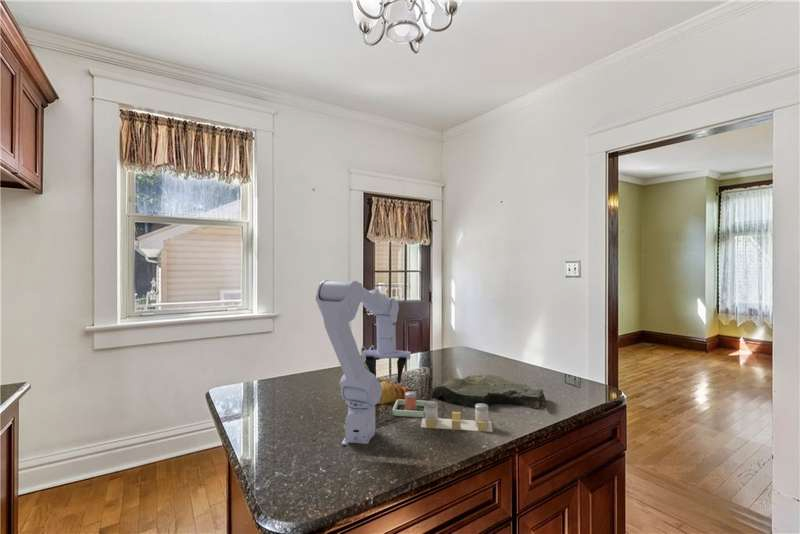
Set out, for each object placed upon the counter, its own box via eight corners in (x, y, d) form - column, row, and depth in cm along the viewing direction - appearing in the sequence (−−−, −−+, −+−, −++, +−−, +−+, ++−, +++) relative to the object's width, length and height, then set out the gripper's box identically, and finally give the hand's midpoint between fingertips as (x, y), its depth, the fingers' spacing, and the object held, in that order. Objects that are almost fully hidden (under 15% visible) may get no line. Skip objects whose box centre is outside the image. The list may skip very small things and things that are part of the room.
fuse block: (492, 435, 102) (492, 423, 102) (420, 430, 105) (420, 419, 105) (490, 424, 108) (490, 413, 108) (422, 420, 111) (422, 409, 111)
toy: (362, 390, 137) (362, 349, 137) (353, 375, 156) (353, 339, 155) (379, 388, 139) (379, 348, 139) (369, 373, 157) (369, 338, 157)
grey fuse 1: (437, 425, 105) (437, 405, 105) (424, 425, 106) (424, 405, 106) (438, 420, 109) (438, 401, 109) (425, 419, 110) (425, 400, 109)
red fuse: (415, 414, 114) (415, 395, 114) (404, 413, 115) (403, 395, 115) (416, 409, 118) (416, 391, 118) (405, 408, 118) (405, 391, 118)
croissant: (354, 419, 120) (356, 402, 117) (347, 396, 129) (349, 378, 125) (415, 408, 128) (419, 391, 125) (404, 386, 136) (408, 370, 133)
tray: (425, 420, 111) (425, 412, 111) (391, 418, 113) (391, 410, 113) (427, 408, 120) (427, 400, 120) (396, 406, 122) (396, 399, 122)
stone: (556, 387, 125) (513, 410, 105) (555, 406, 125) (512, 433, 105) (468, 364, 150) (419, 379, 130) (468, 380, 150) (419, 398, 130)
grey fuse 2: (488, 429, 103) (488, 408, 103) (475, 428, 104) (475, 407, 104) (487, 423, 107) (487, 403, 107) (474, 422, 107) (474, 403, 107)
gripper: (411, 334, 117) (412, 378, 118) (365, 333, 119) (366, 376, 120) (408, 339, 110) (409, 386, 111) (360, 338, 112) (360, 384, 113)
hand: (386, 381), depth 115 cm, fingers open, 7 cm apart
